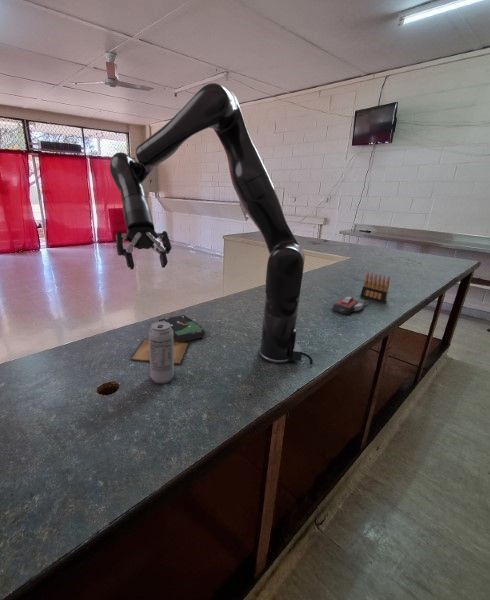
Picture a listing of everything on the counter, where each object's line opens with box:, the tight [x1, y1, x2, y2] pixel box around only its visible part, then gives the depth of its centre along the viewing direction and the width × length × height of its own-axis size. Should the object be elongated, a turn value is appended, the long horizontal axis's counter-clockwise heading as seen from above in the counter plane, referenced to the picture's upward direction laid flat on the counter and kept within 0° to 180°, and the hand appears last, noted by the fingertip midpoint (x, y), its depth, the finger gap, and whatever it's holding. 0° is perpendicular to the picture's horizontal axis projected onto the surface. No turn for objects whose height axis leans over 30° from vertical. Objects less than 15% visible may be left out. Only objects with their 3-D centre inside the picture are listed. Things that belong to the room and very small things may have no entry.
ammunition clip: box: [359, 271, 391, 304], centre depth 141 cm, size 11×2×12 cm, turn 42°
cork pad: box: [131, 338, 189, 365], centre depth 94 cm, size 14×12×1 cm
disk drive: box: [158, 314, 206, 343], centre depth 107 cm, size 10×3×15 cm
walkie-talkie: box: [332, 295, 369, 315], centre depth 132 cm, size 9×4×20 cm
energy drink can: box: [148, 320, 175, 384], centre depth 79 cm, size 6×6×15 cm
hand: (148, 267), depth 83 cm, fingers open, 8 cm apart
